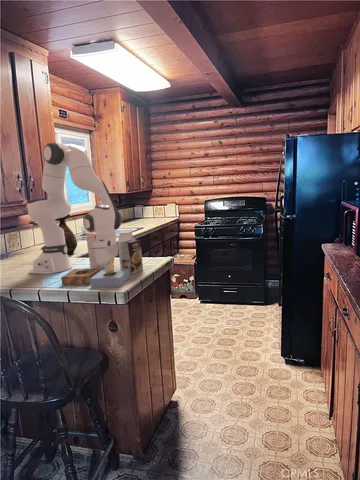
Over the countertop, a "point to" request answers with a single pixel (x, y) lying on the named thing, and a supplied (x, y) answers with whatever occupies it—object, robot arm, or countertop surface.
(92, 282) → the socket block
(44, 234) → the robot arm
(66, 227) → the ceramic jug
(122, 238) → the milk carton
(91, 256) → the cracker box
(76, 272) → the block
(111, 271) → the brass peg
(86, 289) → the countertop surface
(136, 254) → the coffee box
